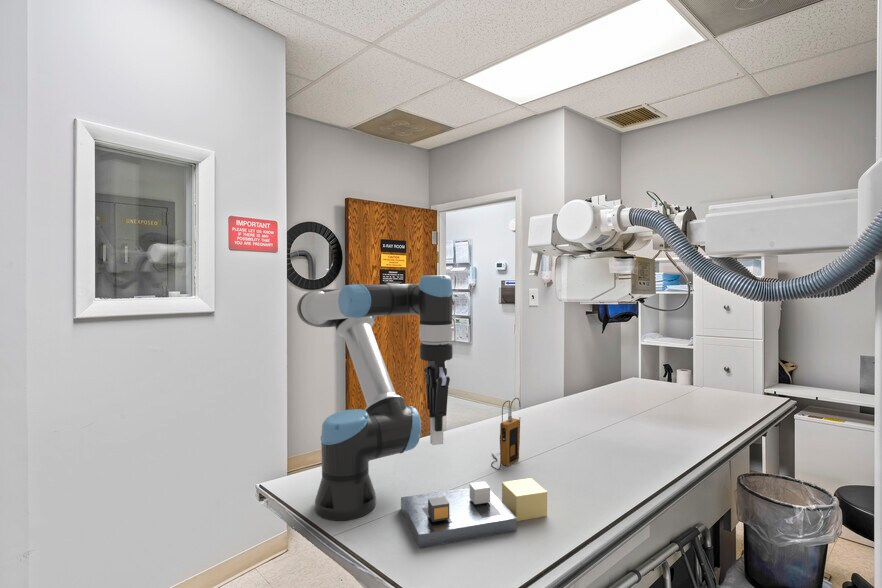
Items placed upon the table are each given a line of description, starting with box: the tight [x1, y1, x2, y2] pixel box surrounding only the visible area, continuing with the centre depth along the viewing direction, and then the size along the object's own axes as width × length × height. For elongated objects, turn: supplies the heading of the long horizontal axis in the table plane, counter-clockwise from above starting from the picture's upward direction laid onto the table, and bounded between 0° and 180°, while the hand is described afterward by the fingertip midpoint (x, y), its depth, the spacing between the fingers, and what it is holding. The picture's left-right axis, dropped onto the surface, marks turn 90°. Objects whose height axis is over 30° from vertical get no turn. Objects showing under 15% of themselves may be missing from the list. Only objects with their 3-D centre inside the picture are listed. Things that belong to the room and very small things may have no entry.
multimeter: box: [490, 397, 521, 471], centre depth 149 cm, size 15×10×20 cm
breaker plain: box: [469, 480, 491, 504], centre depth 115 cm, size 4×4×4 cm
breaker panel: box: [400, 486, 518, 549], centre depth 112 cm, size 23×18×3 cm
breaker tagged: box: [428, 496, 449, 522], centre depth 107 cm, size 4×4×4 cm
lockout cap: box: [501, 477, 548, 522], centre depth 117 cm, size 8×8×6 cm
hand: (436, 443), depth 109 cm, fingers closed
